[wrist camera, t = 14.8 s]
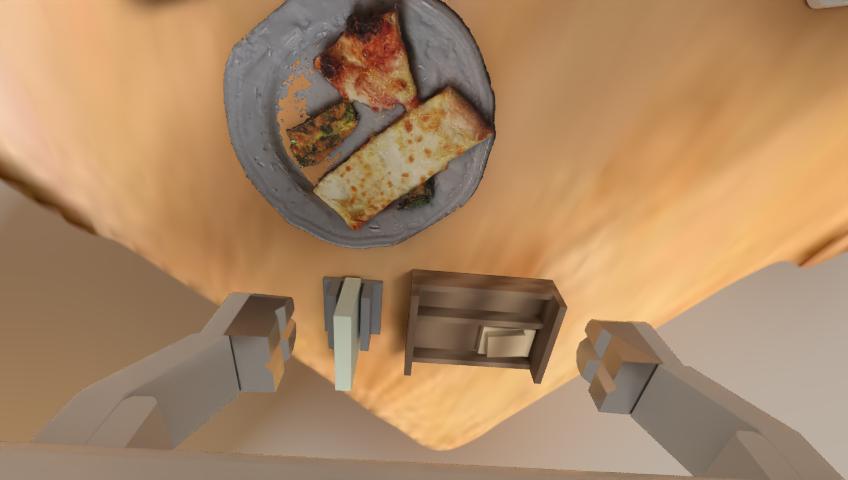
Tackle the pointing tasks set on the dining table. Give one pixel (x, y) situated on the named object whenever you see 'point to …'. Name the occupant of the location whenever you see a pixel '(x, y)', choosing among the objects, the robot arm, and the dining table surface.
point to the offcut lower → (484, 328)
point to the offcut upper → (505, 343)
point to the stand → (368, 312)
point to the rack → (479, 318)
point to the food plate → (363, 115)
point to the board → (347, 333)
